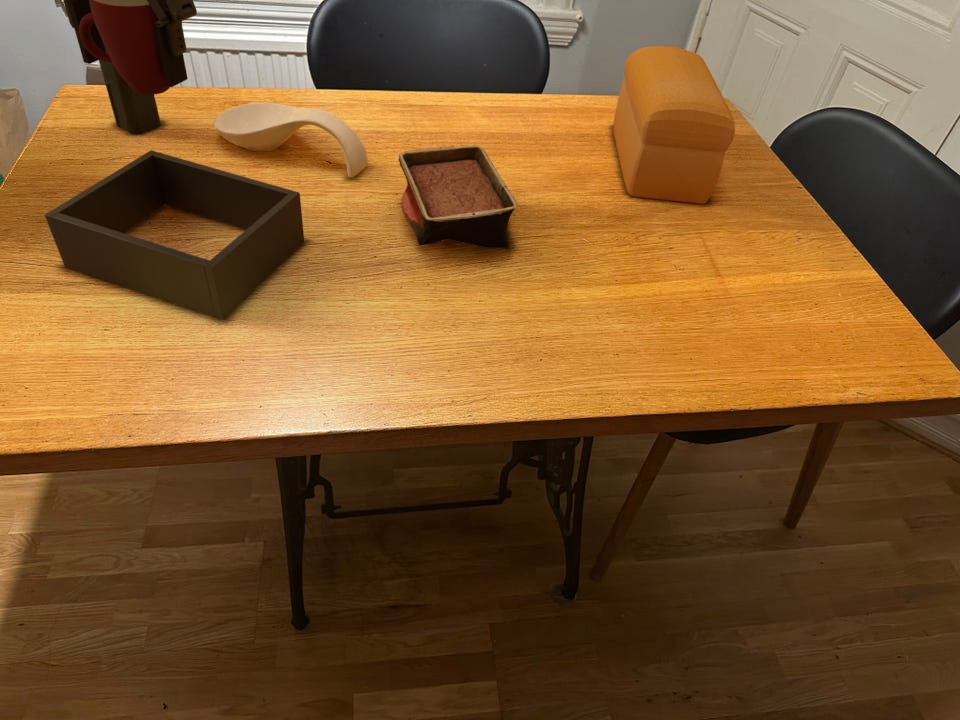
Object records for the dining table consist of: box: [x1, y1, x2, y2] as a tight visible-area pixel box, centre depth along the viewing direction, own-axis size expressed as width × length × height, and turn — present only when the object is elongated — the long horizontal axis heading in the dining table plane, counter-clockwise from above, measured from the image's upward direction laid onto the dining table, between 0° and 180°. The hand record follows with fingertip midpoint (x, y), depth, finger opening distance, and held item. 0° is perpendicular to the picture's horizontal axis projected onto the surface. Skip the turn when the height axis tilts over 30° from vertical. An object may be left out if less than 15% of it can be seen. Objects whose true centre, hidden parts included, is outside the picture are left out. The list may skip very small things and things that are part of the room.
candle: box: [98, 45, 162, 135], centre depth 97 cm, size 5×5×25 cm
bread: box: [612, 45, 736, 204], centre depth 107 cm, size 24×13×15 cm, turn 178°
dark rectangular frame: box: [44, 149, 305, 321], centre depth 81 cm, size 21×17×7 cm
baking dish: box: [398, 144, 519, 249], centre depth 91 cm, size 14×18×10 cm
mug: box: [79, 0, 171, 96], centre depth 76 cm, size 10×8×10 cm
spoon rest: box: [213, 101, 369, 178], centre depth 101 cm, size 24×12×7 cm, turn 67°
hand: (135, 70), depth 78 cm, fingers closed on mug, 10 cm apart
